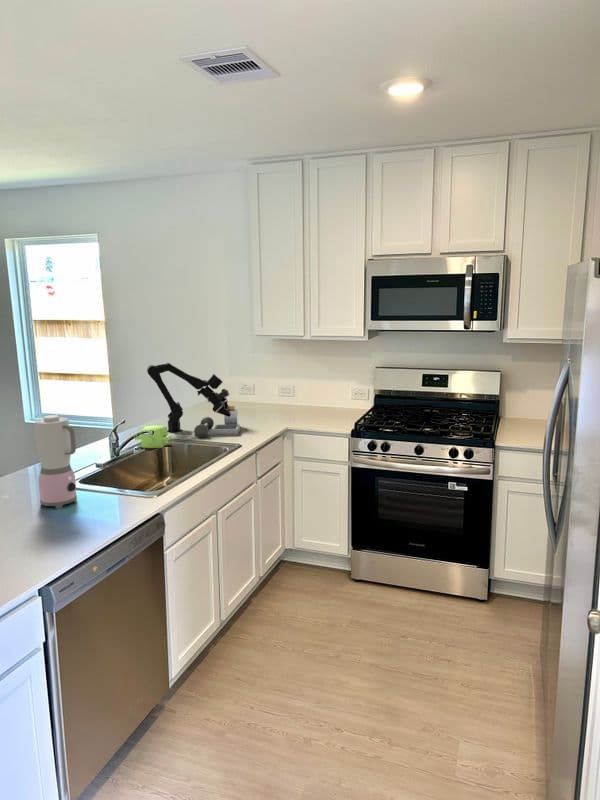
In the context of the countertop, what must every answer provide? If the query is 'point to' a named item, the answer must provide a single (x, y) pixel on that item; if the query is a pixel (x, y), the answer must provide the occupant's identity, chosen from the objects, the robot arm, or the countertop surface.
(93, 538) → the countertop surface
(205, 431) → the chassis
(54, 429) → the blender
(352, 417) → the countertop surface
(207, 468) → the countertop surface
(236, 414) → the block
